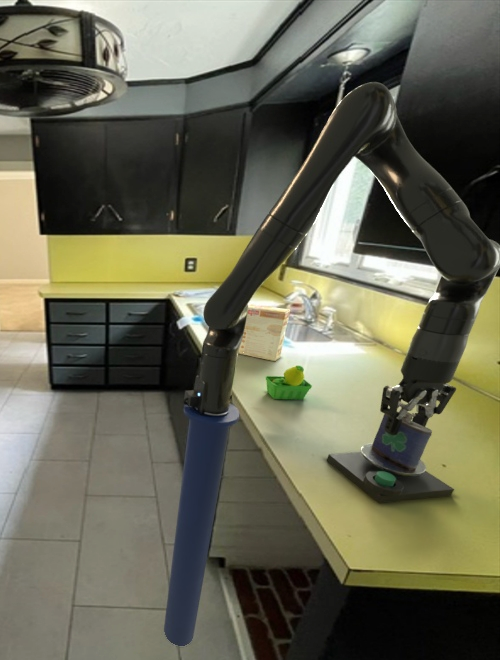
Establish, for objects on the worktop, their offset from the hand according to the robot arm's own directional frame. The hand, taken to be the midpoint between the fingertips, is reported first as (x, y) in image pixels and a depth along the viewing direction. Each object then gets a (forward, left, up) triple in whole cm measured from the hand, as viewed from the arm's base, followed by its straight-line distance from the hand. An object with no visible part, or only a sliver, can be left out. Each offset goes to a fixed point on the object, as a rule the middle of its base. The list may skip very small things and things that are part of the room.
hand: (402, 432), depth 74 cm
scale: (-2, -1, -10) cm, 10 cm away
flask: (0, 0, -6) cm, 6 cm away
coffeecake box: (+14, +76, -10) cm, 77 cm away
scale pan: (0, 0, -7) cm, 7 cm away
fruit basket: (+1, +38, -10) cm, 39 cm away
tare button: (-8, -6, -7) cm, 12 cm away
